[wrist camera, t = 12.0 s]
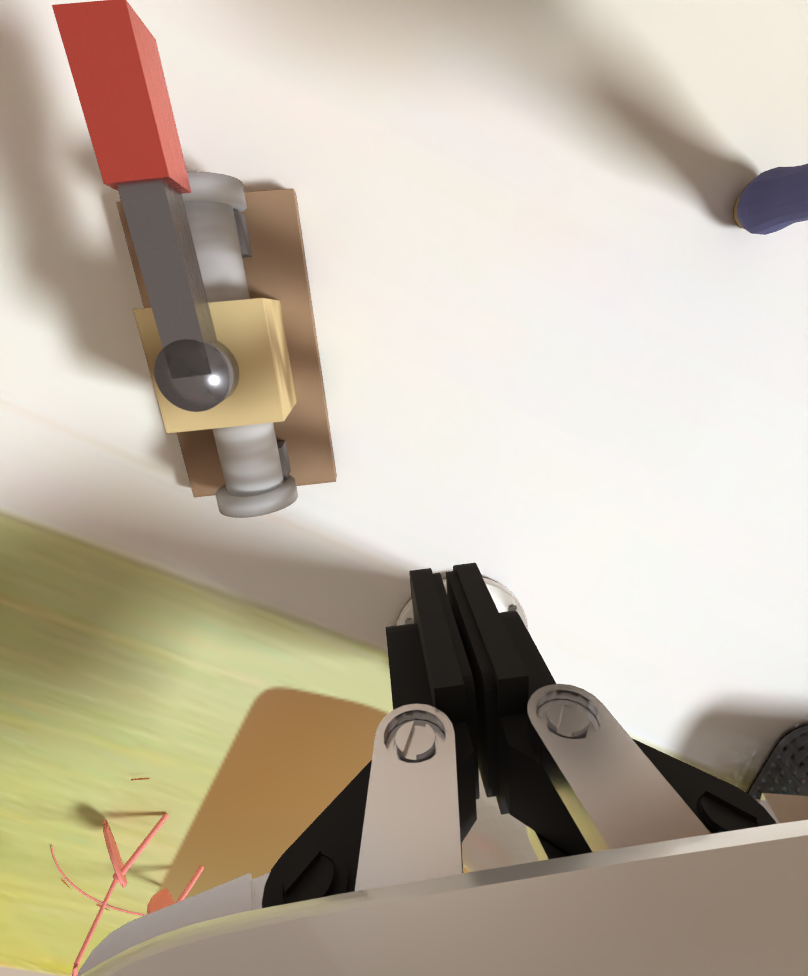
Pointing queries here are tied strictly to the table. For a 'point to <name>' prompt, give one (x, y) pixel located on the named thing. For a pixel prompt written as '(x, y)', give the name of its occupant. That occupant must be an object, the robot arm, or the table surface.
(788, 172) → the rubber mallet
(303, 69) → the table surface
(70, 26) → the lever
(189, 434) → the valve manifold
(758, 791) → the storage bin
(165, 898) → the figurine
